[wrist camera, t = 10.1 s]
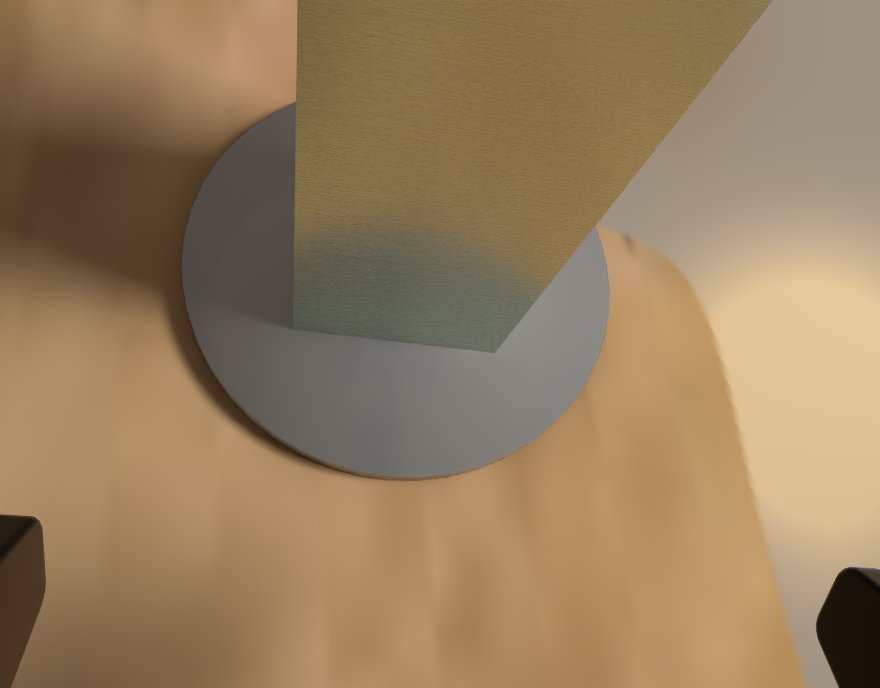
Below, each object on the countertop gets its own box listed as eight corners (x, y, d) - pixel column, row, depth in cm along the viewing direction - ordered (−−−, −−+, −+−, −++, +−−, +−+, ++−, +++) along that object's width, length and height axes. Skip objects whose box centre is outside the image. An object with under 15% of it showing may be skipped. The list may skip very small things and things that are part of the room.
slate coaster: (608, 498, 18) (618, 494, 17) (145, 460, 16) (140, 454, 16) (594, 133, 22) (602, 121, 21) (222, 70, 20) (220, 54, 19)
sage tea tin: (498, 357, 18) (1026, -291, 5) (288, 333, 17) (286, -517, 4) (502, 181, 20) (894, -617, 7) (313, 151, 19) (361, -818, 6)
